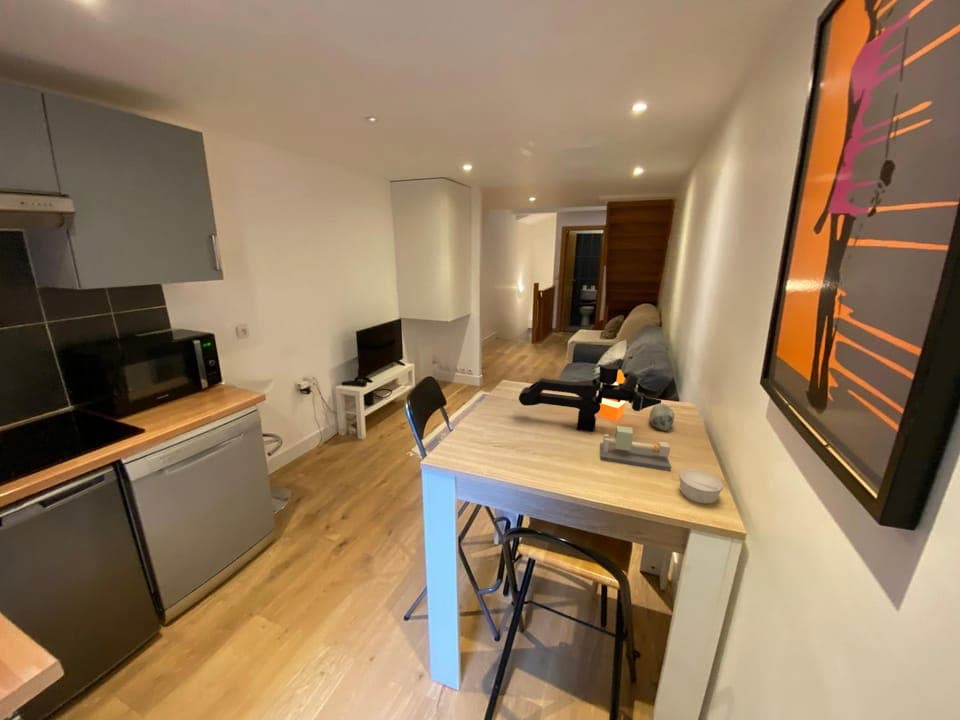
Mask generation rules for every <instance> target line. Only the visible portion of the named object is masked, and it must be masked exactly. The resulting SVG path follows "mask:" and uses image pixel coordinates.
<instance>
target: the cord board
mask: <svg viewBox="0 0 960 720" xmlns="http://www.w3.org/2000/svg"><path fill="white" fill-rule="evenodd" d="M609 437H610V435H609V434H605V433H604V434H603V442H600V443H599V454H600V457H599V458H600V461H604V462H609V463H614V464H615V463H617V464H623V465H627V466H628V465H629V466H635V467H641V468H646V469H647V468H649V469H655V470H661V471H667V472H671V469H672V466H671V463H670V460H669V457H670V451H671V447H670V443H669V442H664V441H658V442H657V443H656V442H653V444H650V443H643V442H636V441H632V446H631V451H628V450H621V449H615V444H616V439H615V438H609Z"/></svg>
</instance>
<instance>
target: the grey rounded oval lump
mask: <svg viewBox="0 0 960 720" xmlns="http://www.w3.org/2000/svg"><path fill="white" fill-rule="evenodd" d="M648 419H649V422H650V423H651V424H652V426H654V427H655V428H657V429H658V430H661V431H664V432H667V431H668V430H670V429H671V428H672V426H673V423H674V420H675V412H674V410H672V408H671V407H670V406H668V405H666V404H663V403H662V404H661V403H660V404H657V405H653V406H652V408H651V410H650V412H649V418H648Z"/></svg>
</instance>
